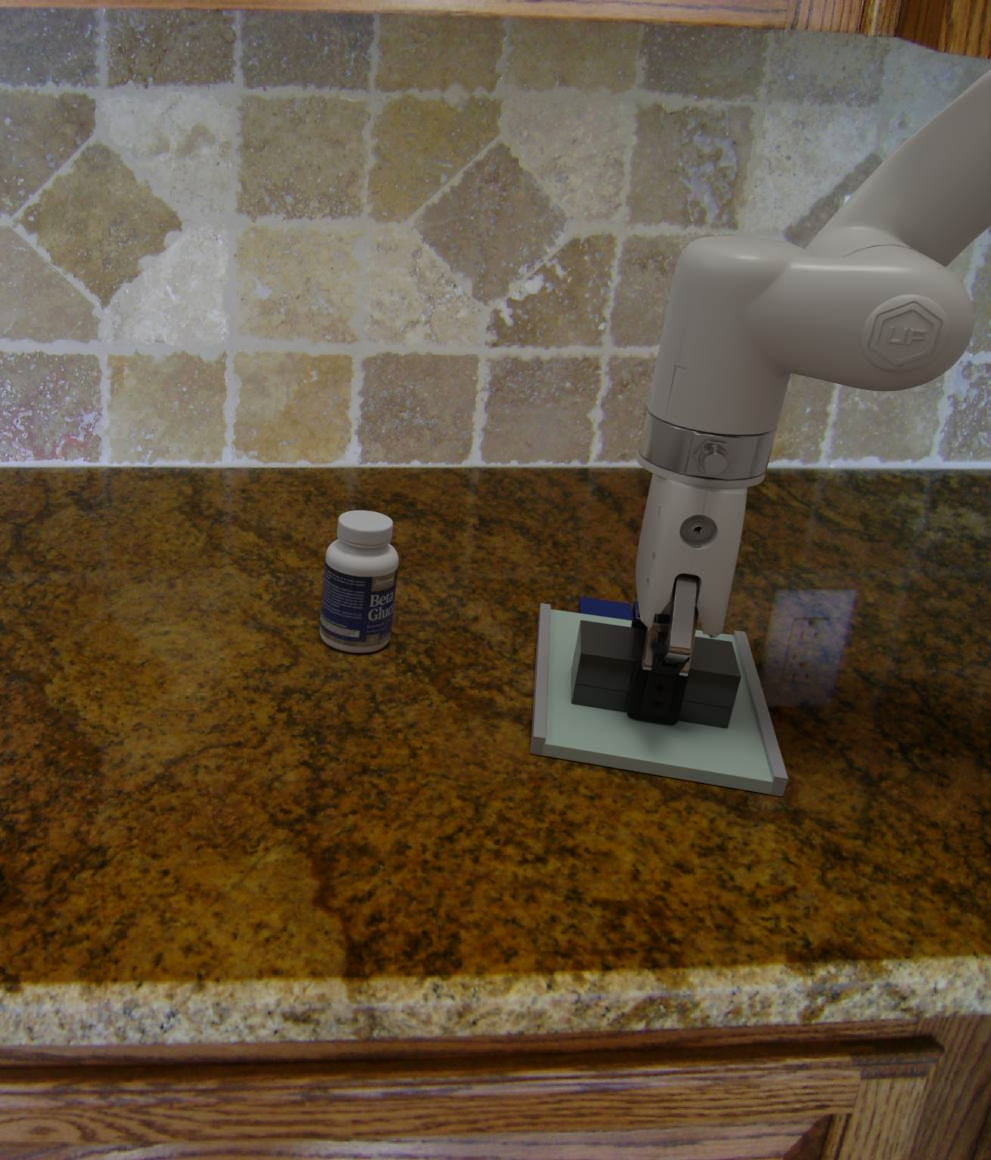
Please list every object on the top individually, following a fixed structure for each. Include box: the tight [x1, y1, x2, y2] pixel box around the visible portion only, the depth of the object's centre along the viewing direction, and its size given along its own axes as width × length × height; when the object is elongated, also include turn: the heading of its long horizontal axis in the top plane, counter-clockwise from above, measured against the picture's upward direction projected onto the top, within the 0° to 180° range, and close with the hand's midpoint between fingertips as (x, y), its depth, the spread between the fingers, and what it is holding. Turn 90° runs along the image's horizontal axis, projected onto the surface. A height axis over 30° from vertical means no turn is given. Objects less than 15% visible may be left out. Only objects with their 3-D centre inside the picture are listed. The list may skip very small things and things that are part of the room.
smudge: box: [578, 596, 634, 621], centre depth 93 cm, size 4×4×1 cm
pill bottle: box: [319, 509, 400, 654], centre depth 87 cm, size 5×5×10 cm
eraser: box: [571, 620, 741, 728], centre depth 79 cm, size 10×5×4 cm, turn 75°
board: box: [529, 602, 789, 798], centre depth 82 cm, size 15×20×1 cm
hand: (648, 693), depth 80 cm, fingers open, 5 cm apart
